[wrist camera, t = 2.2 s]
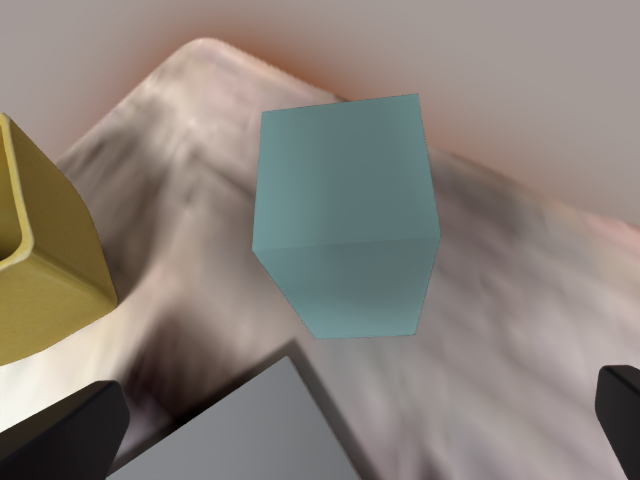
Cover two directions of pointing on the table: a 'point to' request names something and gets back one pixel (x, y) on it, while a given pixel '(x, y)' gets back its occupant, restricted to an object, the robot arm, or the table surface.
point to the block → (348, 214)
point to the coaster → (251, 438)
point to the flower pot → (44, 252)
